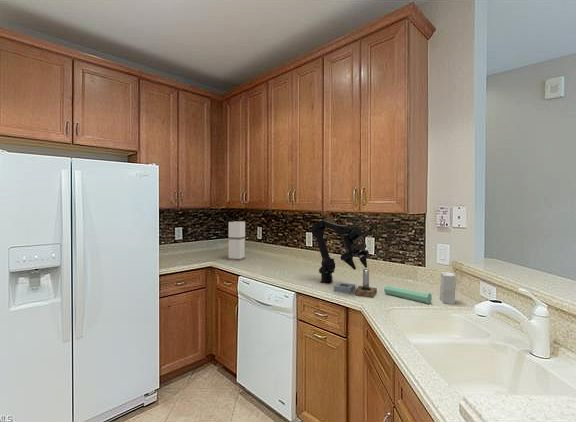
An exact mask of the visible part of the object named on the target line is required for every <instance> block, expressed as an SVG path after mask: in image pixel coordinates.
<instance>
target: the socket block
mask: <svg viewBox="0 0 576 422" xmlns="http://www.w3.org/2000/svg"><path fill="white" fill-rule="evenodd" d="M355 289H356V283H355V284H354V283H349V282H348V283H346V282H341V281H340V282H338V283H336V284H335V285H334V286H333V292H337V293H343V294H350V295H351V294H352V293H353V292H355Z"/></svg>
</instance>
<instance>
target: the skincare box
mask: <svg viewBox="0 0 576 422" xmlns="http://www.w3.org/2000/svg"><path fill="white" fill-rule="evenodd" d="M456 282H457V276H456V275H455V274H454V273H453V272H447V271H440V284H439V285H440V286H439V287H440V288H439V289H440V290H439V299H440V301H441V302H442V304H448V305H449V304H450V305H455V303H456V287H457V286H456V285H457V283H456Z"/></svg>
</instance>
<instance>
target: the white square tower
mask: <svg viewBox="0 0 576 422" xmlns="http://www.w3.org/2000/svg"><path fill="white" fill-rule="evenodd" d="M245 241H246V221H236V220H235V221H228V261H230V260H235V261H234V262H241V260H242V261H244V260H246V257H245V256H246V255H245V252H246V251H245V248H246V247H245Z"/></svg>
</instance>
